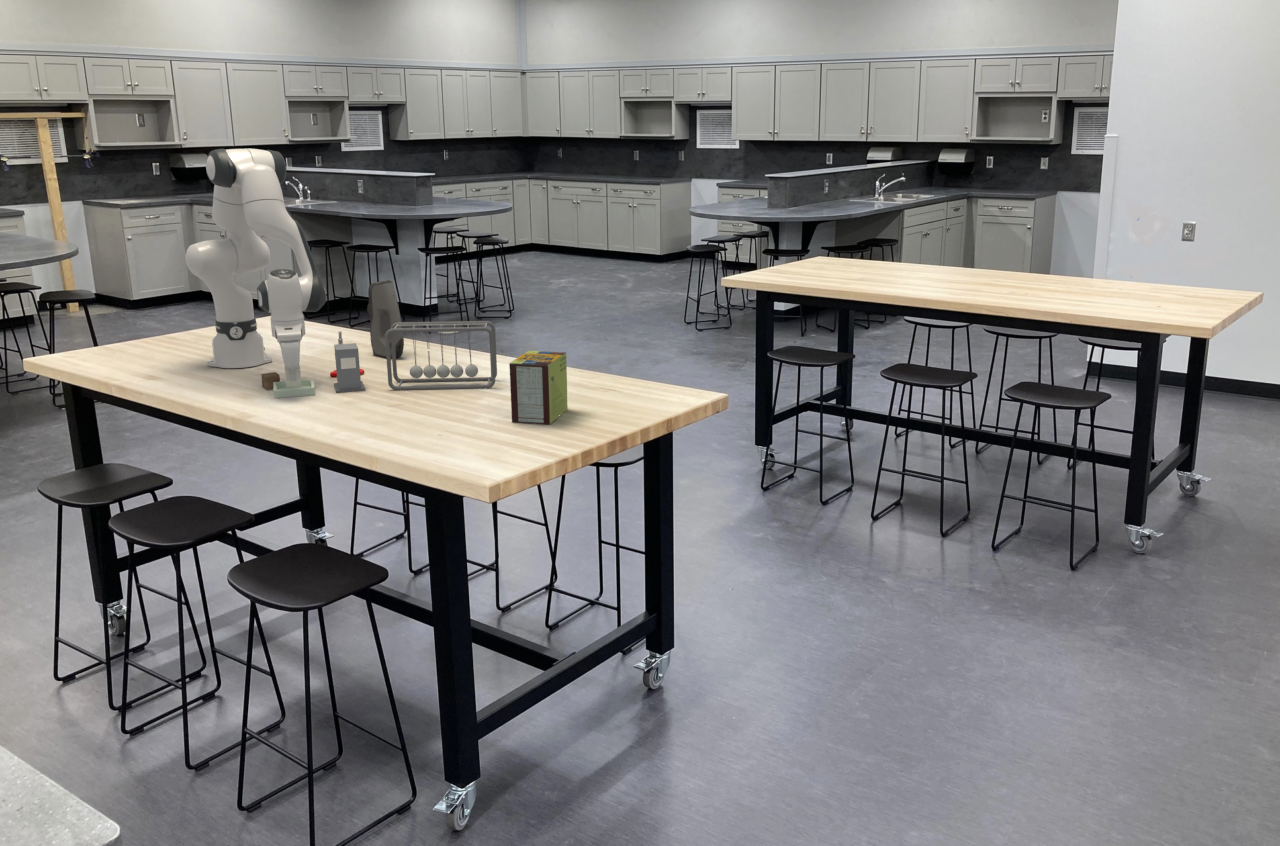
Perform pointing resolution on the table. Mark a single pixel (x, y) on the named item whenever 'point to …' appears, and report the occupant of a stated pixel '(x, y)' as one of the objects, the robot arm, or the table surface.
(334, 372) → the tow hook
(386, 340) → the newton's cradle
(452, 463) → the table surface
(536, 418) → the protein box
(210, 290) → the robot arm
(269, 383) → the walnut block
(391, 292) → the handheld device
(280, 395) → the tray
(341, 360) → the control box
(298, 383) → the block
